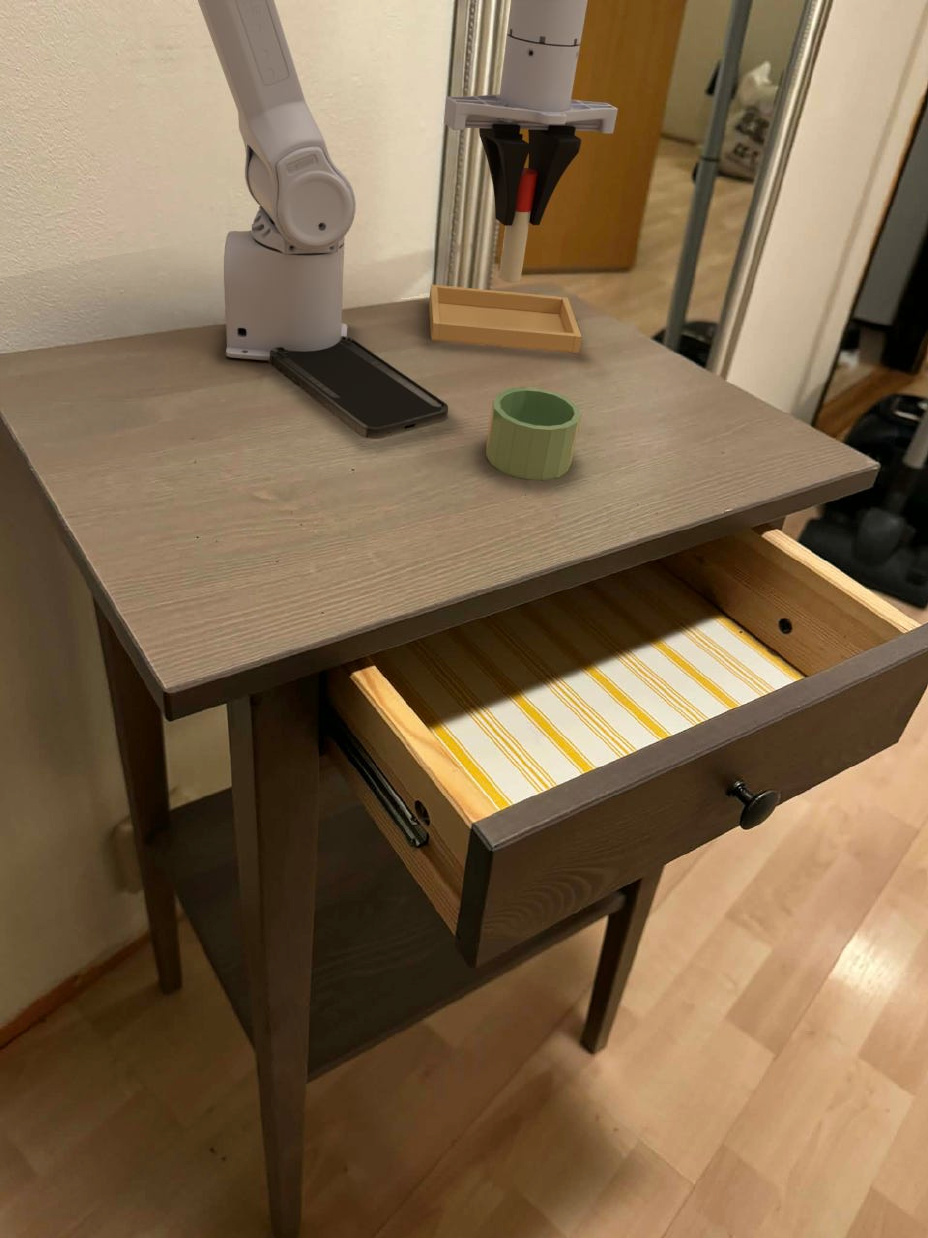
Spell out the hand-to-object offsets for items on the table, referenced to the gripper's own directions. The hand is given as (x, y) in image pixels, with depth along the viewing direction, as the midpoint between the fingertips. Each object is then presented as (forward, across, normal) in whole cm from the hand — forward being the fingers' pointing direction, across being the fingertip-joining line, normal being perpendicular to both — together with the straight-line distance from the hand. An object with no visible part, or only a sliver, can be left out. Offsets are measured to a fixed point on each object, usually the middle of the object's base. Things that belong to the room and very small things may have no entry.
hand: (517, 221), depth 81 cm
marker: (+5, 0, 0) cm, 5 cm away
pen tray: (+10, 0, 0) cm, 10 cm away
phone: (+10, -17, -10) cm, 22 cm away
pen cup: (+10, -8, -22) cm, 26 cm away
